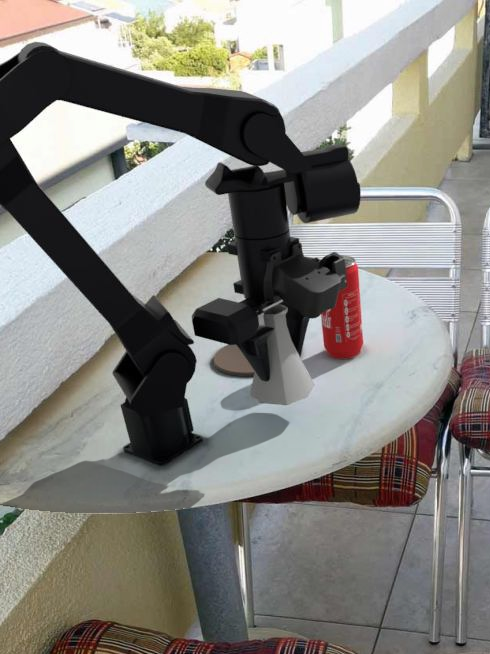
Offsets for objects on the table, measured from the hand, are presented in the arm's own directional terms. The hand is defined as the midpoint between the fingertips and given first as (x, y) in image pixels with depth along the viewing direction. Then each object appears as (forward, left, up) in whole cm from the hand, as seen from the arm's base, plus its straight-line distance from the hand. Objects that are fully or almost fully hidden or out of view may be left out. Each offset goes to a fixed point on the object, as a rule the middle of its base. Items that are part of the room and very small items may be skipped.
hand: (280, 371), depth 97 cm
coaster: (+10, +14, -5) cm, 18 cm away
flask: (0, 0, -3) cm, 3 cm away
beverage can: (+17, +4, -6) cm, 18 cm away
